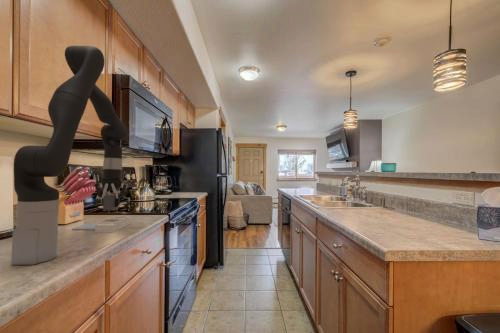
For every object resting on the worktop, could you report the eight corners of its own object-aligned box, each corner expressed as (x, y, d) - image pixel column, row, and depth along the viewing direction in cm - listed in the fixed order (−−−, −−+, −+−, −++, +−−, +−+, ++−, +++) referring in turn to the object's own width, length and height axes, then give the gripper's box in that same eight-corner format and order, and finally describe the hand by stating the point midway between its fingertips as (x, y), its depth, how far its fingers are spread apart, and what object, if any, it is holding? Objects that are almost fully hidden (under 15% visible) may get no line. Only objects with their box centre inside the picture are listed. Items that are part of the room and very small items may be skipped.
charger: (113, 210, 106) (114, 194, 106) (102, 210, 106) (103, 194, 106) (118, 209, 110) (118, 193, 110) (108, 209, 110) (109, 193, 110)
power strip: (112, 232, 103) (112, 223, 103) (94, 232, 102) (95, 222, 102) (130, 223, 121) (131, 215, 121) (116, 223, 120) (116, 215, 120)
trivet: (95, 230, 106) (95, 228, 106) (72, 230, 105) (72, 228, 106) (107, 225, 116) (107, 224, 116) (86, 225, 115) (86, 223, 115)
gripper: (91, 167, 105) (89, 207, 104) (125, 168, 105) (123, 207, 105) (100, 168, 112) (99, 205, 111) (132, 169, 113) (130, 205, 112)
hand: (110, 206), depth 108 cm, fingers closed on charger, 4 cm apart
